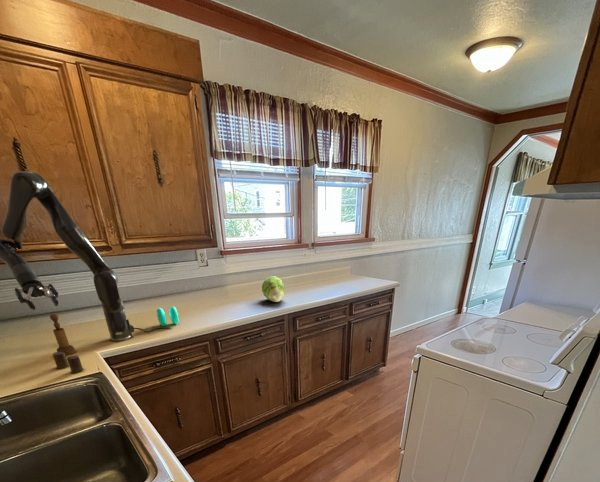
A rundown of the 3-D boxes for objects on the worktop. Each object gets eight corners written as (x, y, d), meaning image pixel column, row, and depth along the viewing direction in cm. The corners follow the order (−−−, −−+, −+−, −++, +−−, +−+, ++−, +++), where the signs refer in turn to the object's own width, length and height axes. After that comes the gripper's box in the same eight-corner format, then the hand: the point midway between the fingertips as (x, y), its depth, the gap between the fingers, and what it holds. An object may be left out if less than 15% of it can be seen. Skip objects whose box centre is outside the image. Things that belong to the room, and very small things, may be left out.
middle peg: (67, 364, 136) (62, 350, 134) (70, 366, 134) (65, 353, 131) (56, 366, 134) (51, 353, 131) (58, 369, 131) (53, 355, 129)
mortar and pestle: (54, 354, 146) (40, 314, 138) (68, 349, 151) (55, 311, 143) (65, 356, 144) (50, 316, 136) (78, 351, 149) (65, 312, 141)
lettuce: (276, 313, 234) (260, 297, 225) (270, 300, 252) (256, 285, 243) (293, 297, 230) (278, 280, 221) (286, 285, 248) (272, 269, 239)
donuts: (180, 325, 185) (177, 308, 181) (161, 328, 181) (158, 310, 176) (176, 321, 193) (173, 304, 188) (158, 324, 188) (155, 306, 184)
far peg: (81, 368, 133) (77, 354, 130) (84, 371, 130) (79, 357, 127) (70, 371, 130) (65, 357, 127) (73, 374, 128) (68, 359, 125)
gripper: (5, 273, 135) (26, 304, 134) (45, 269, 145) (64, 298, 144) (6, 285, 140) (26, 315, 139) (44, 280, 150) (63, 308, 149)
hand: (45, 306), depth 142 cm, fingers open, 8 cm apart
